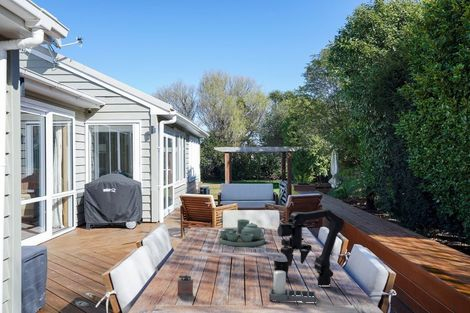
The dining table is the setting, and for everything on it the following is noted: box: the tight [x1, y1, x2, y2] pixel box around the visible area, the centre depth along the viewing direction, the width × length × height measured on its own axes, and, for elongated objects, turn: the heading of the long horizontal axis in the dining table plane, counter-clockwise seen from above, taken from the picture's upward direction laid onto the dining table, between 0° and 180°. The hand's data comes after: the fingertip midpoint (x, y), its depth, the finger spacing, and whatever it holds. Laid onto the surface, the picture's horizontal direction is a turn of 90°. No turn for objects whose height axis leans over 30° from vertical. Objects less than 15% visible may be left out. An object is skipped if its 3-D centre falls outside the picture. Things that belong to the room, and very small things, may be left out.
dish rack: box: [268, 288, 317, 303], centre depth 196 cm, size 23×10×4 cm, turn 82°
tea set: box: [217, 218, 267, 248], centre depth 332 cm, size 40×40×16 cm
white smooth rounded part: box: [272, 270, 287, 295], centre depth 197 cm, size 6×6×13 cm
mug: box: [273, 257, 290, 278], centre depth 232 cm, size 12×9×10 cm
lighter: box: [176, 274, 194, 297], centre depth 199 cm, size 8×3×10 cm, turn 92°
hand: (296, 264), depth 211 cm, fingers open, 9 cm apart
